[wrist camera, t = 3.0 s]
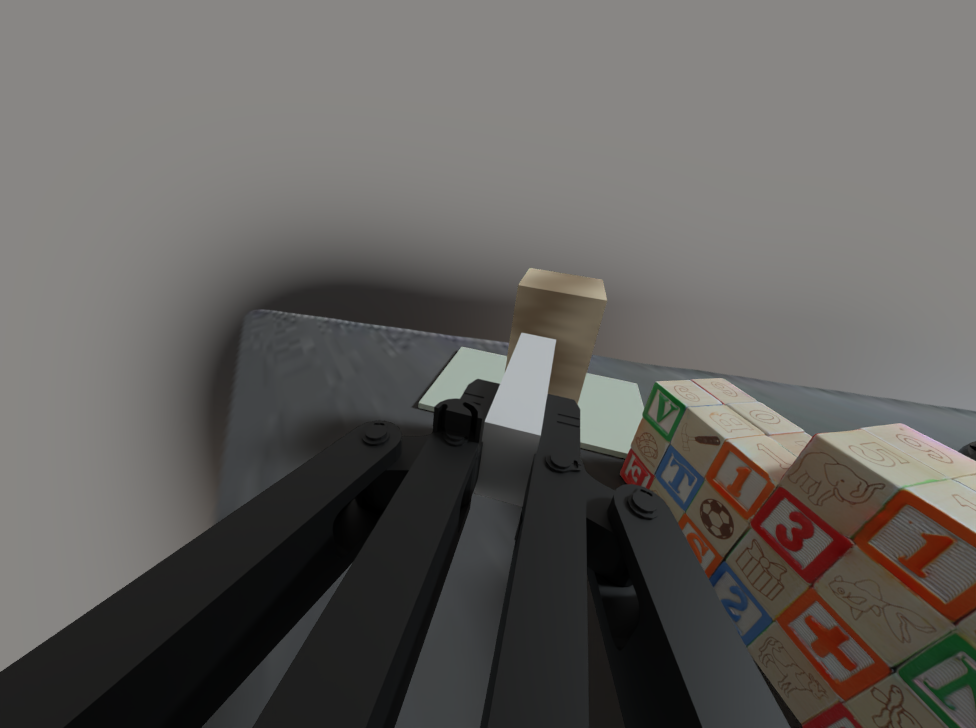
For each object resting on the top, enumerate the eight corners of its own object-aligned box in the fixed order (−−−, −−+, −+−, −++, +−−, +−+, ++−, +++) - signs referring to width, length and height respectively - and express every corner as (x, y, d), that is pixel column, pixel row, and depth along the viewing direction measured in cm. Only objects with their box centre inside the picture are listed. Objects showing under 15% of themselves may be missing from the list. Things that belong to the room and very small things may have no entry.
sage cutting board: (635, 387, 41) (637, 383, 41) (656, 466, 30) (658, 461, 29) (461, 350, 45) (461, 346, 45) (418, 407, 33) (418, 402, 33)
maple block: (557, 447, 30) (602, 279, 23) (553, 490, 26) (607, 300, 19) (502, 434, 31) (529, 267, 24) (489, 473, 27) (518, 285, 20)
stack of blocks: (615, 474, 28) (669, 340, 23) (677, 467, 30) (742, 340, 24) (999, 1008, 10) (1758, 1030, 5) (1103, 919, 12) (1761, 848, 6)
